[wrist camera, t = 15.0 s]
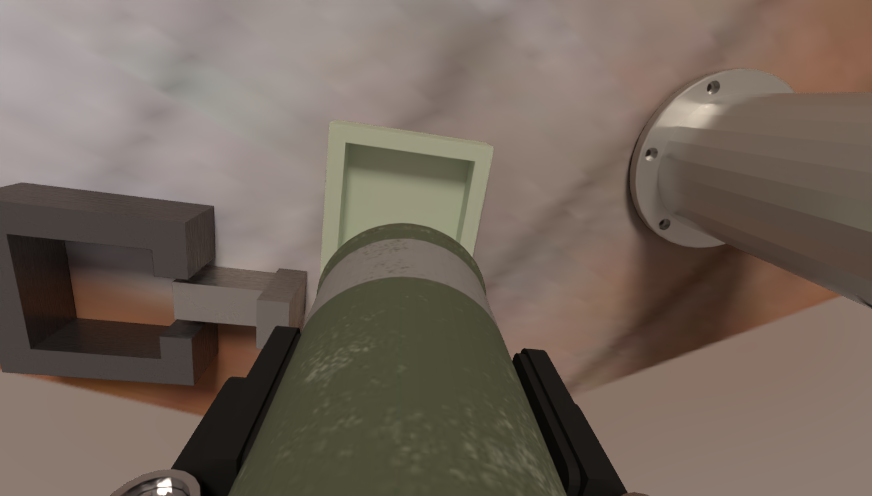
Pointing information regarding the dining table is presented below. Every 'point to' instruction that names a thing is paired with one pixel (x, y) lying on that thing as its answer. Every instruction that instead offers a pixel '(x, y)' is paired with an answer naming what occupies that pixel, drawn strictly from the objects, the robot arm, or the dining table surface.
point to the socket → (52, 293)
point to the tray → (401, 183)
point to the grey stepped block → (242, 298)
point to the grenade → (400, 384)
